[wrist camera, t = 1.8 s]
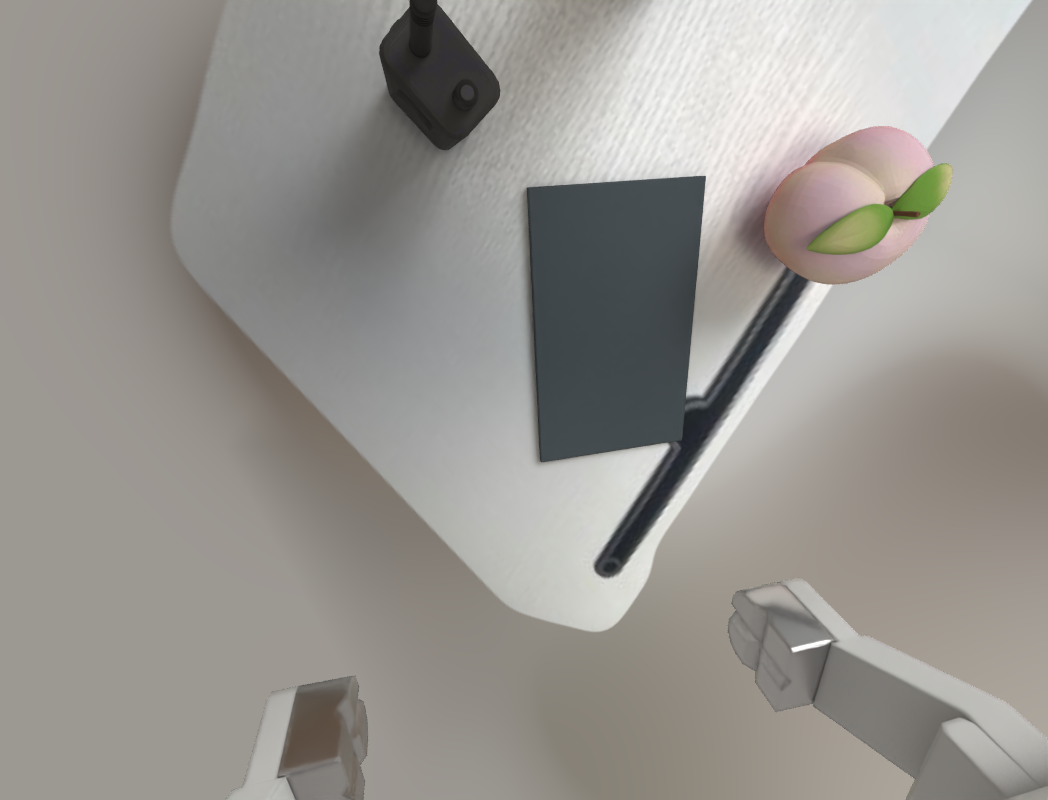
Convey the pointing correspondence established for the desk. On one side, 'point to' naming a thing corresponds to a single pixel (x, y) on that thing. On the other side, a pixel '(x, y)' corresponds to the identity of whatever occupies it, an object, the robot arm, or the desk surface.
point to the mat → (613, 311)
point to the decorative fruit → (855, 205)
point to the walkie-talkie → (436, 74)
